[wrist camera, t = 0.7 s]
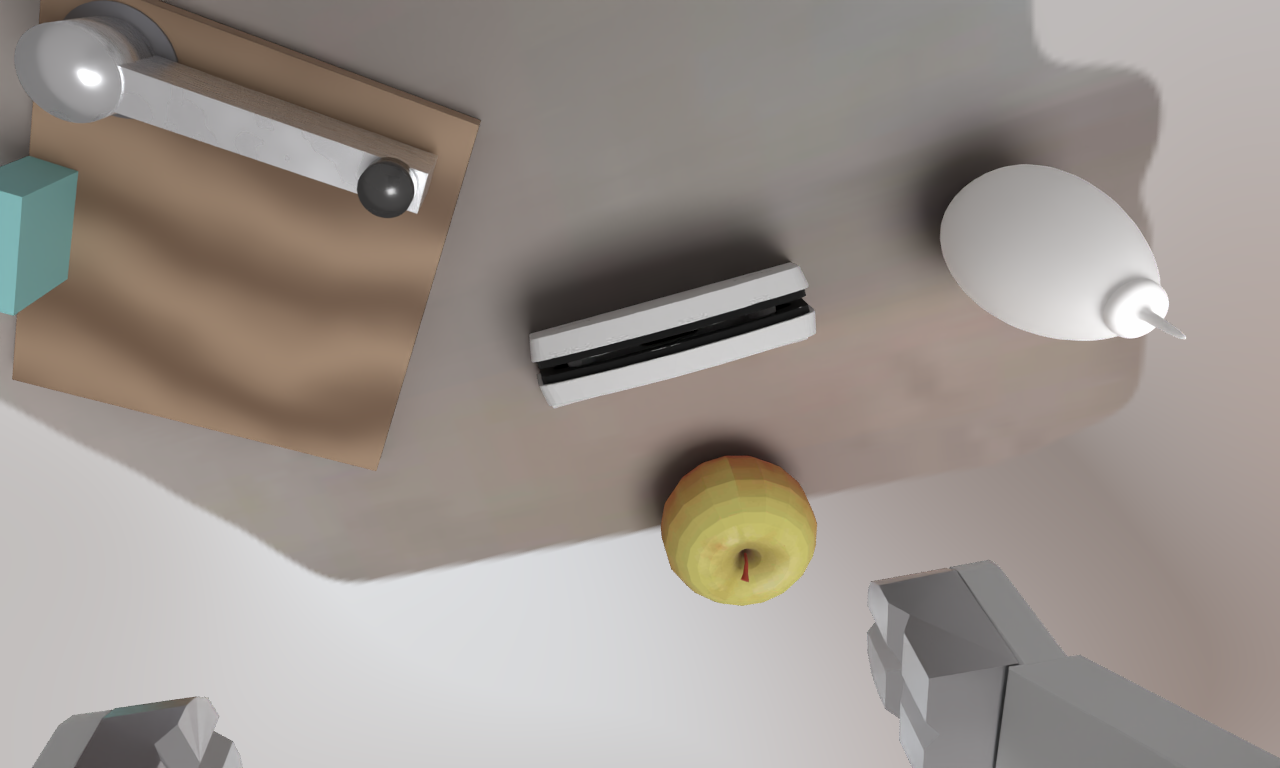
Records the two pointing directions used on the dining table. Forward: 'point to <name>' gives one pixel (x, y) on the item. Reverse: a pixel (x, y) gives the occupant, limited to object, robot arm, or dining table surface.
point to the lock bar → (212, 111)
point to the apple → (738, 530)
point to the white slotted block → (722, 312)
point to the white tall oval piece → (1053, 256)
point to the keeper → (34, 230)
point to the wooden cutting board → (239, 256)
